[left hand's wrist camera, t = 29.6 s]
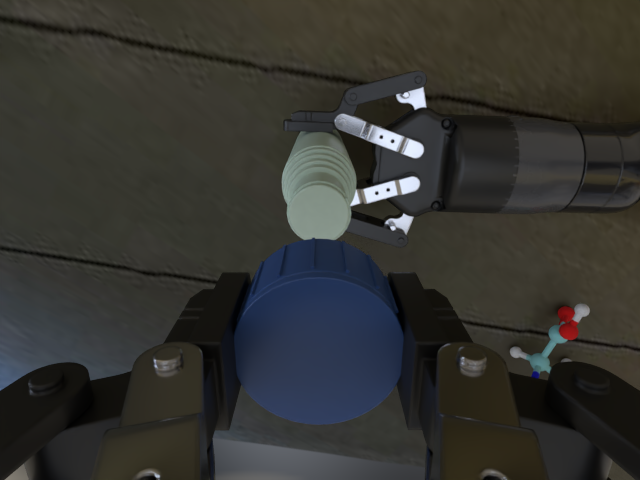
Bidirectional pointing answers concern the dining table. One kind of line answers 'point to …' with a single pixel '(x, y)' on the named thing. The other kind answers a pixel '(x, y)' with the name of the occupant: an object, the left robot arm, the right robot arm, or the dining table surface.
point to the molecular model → (555, 338)
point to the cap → (318, 333)
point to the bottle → (319, 186)
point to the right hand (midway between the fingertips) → (285, 158)
